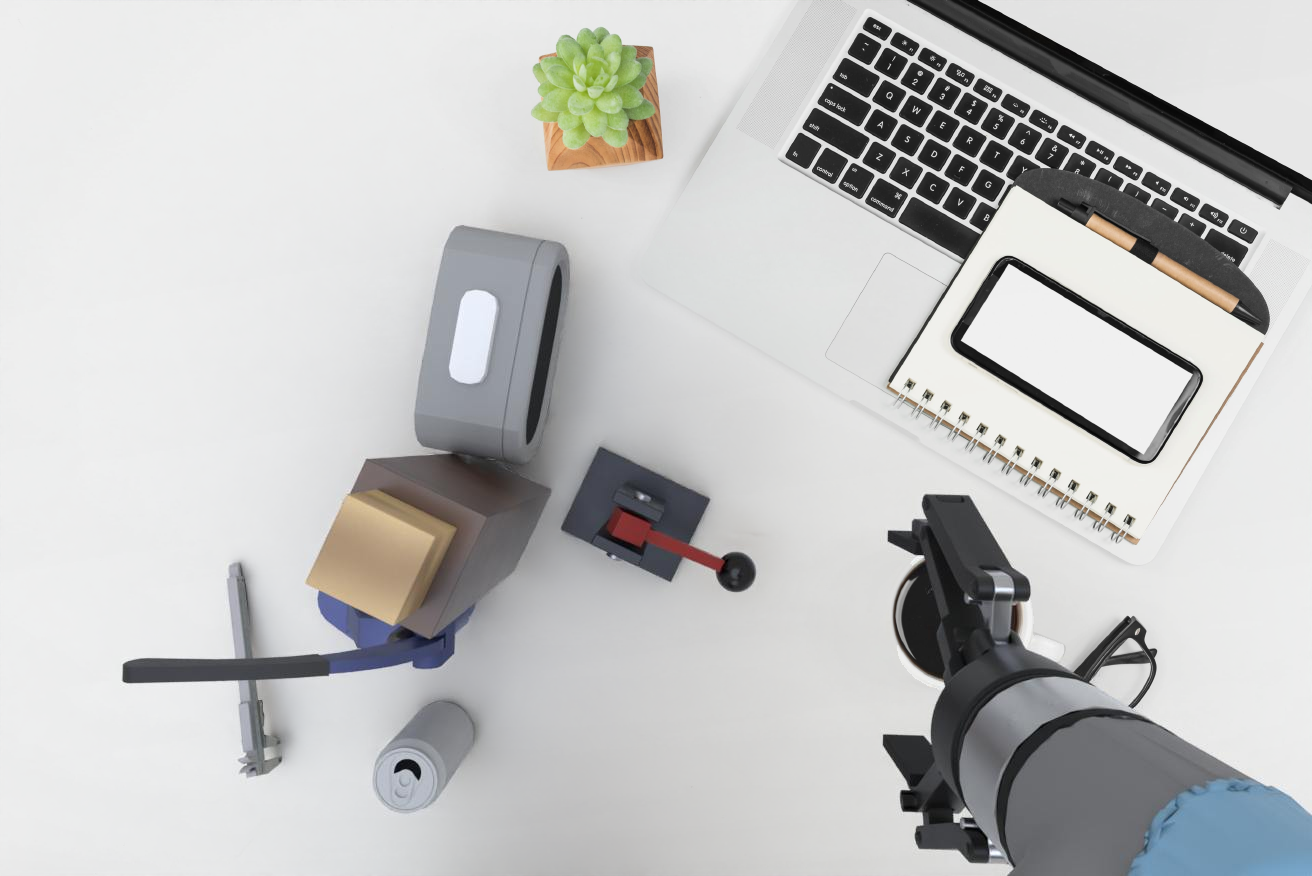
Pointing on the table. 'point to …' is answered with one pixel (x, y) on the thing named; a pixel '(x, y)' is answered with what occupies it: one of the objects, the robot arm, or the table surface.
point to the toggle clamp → (634, 511)
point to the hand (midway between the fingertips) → (905, 638)
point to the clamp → (369, 634)
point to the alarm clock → (492, 345)
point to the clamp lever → (684, 550)
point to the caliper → (248, 685)
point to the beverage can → (422, 758)
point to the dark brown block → (461, 524)
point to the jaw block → (381, 555)
